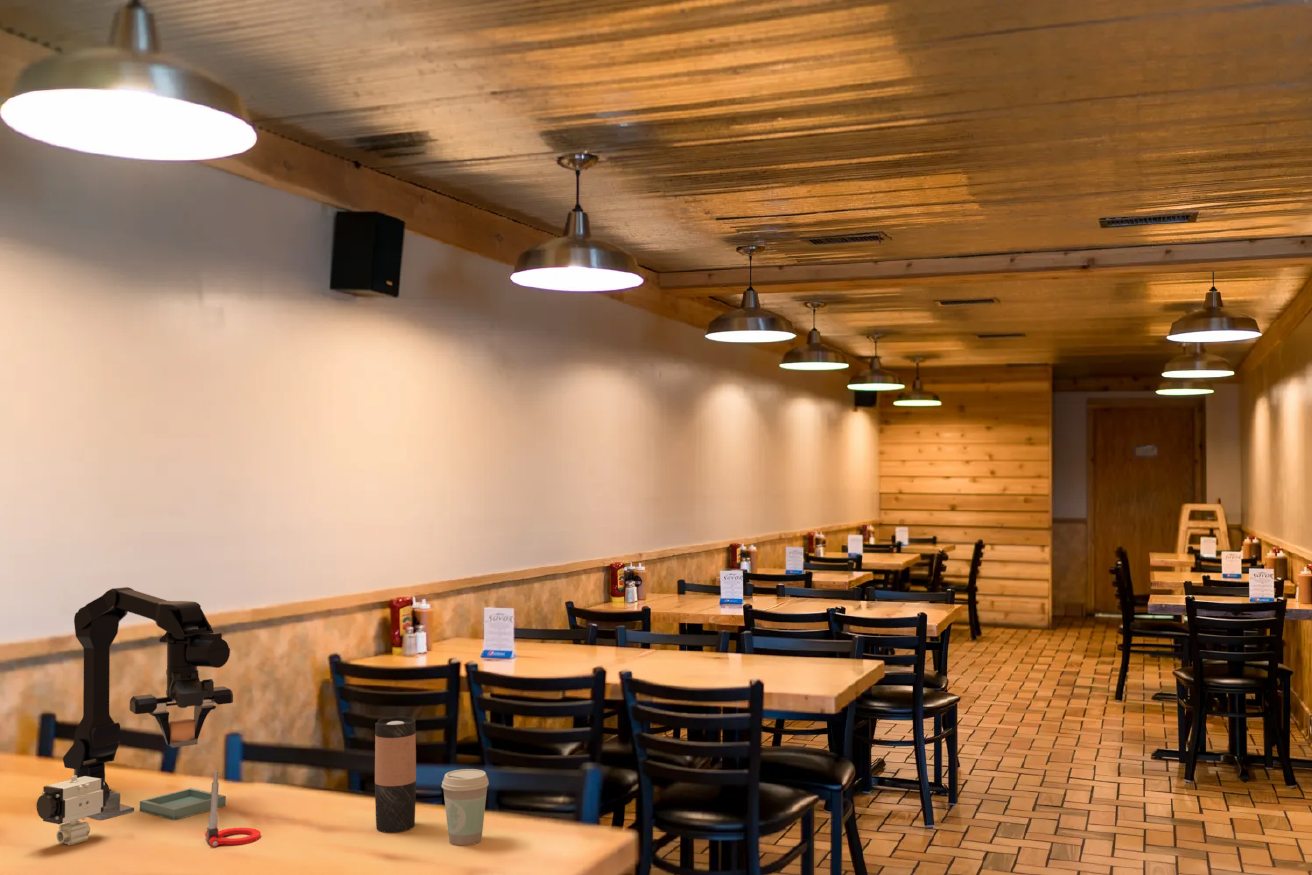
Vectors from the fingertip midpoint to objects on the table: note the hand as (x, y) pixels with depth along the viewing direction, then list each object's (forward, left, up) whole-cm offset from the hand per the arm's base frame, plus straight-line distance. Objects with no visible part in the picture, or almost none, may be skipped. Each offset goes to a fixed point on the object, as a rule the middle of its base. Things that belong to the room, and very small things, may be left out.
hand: (181, 742), depth 231 cm
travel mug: (+46, +14, -13) cm, 50 cm away
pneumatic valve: (+3, -24, -13) cm, 27 cm away
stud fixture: (-10, -10, -13) cm, 19 cm away
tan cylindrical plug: (0, 0, 0) cm, 0 cm away
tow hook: (+26, -7, -14) cm, 30 cm away
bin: (0, 0, -13) cm, 13 cm away
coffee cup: (+63, +15, -13) cm, 66 cm away
